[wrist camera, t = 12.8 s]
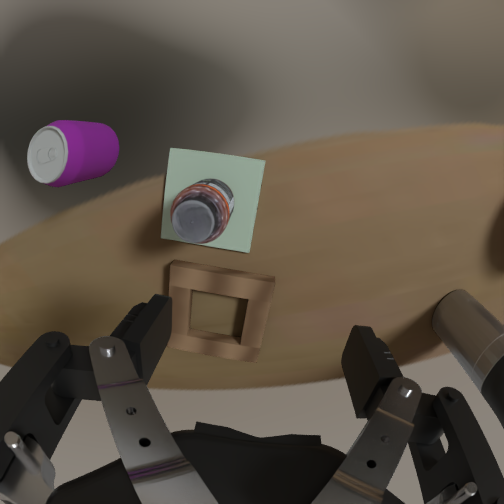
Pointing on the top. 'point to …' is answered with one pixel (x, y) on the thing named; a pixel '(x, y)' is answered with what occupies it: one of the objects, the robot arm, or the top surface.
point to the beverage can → (72, 152)
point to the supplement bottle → (202, 211)
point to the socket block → (224, 283)
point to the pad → (228, 171)
